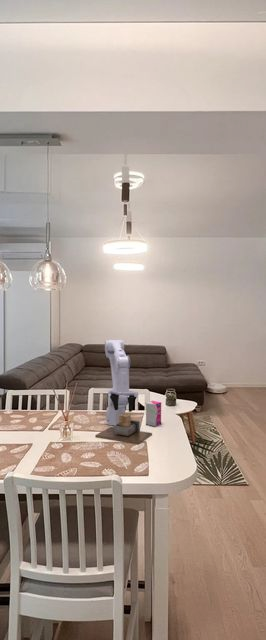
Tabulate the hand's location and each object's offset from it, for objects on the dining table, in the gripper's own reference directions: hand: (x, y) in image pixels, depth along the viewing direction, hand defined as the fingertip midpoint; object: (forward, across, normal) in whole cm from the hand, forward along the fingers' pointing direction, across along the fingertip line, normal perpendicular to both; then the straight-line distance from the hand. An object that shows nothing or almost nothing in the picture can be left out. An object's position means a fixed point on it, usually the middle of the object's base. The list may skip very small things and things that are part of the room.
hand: (123, 410), depth 181 cm
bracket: (+10, +2, -3) cm, 11 cm away
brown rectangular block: (+8, +2, -3) cm, 9 cm away
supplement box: (+10, +8, +18) cm, 22 cm away
